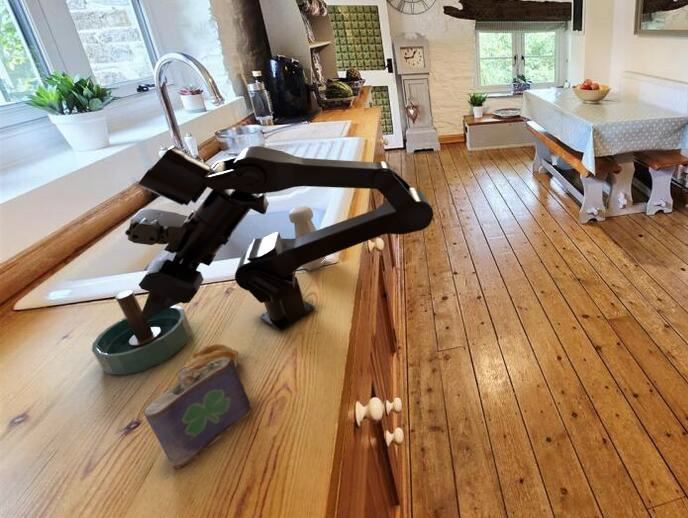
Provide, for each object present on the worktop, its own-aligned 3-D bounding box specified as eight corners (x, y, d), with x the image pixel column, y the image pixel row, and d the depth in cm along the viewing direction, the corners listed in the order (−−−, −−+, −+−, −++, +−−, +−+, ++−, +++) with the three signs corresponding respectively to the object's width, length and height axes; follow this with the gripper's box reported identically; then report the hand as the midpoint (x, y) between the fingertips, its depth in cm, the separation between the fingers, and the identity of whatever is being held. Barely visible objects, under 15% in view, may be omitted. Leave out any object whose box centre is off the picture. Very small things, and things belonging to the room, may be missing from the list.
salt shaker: (334, 257, 88) (321, 202, 83) (320, 272, 83) (305, 215, 78) (308, 256, 89) (293, 202, 84) (293, 271, 84) (276, 215, 78)
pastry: (233, 401, 56) (224, 381, 54) (173, 422, 53) (162, 402, 51) (241, 354, 63) (233, 335, 62) (189, 370, 61) (180, 351, 59)
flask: (178, 473, 47) (142, 407, 43) (165, 461, 48) (129, 396, 44) (256, 409, 54) (232, 347, 50) (243, 400, 56) (218, 339, 51)
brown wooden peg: (171, 339, 66) (147, 288, 62) (144, 357, 63) (117, 305, 59) (154, 334, 67) (129, 284, 63) (127, 351, 64) (99, 300, 60)
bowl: (205, 338, 67) (197, 319, 65) (119, 389, 58) (107, 368, 57) (175, 315, 72) (167, 297, 71) (92, 358, 64) (80, 338, 62)
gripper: (179, 170, 66) (123, 244, 67) (128, 219, 50) (56, 316, 51) (248, 205, 72) (196, 272, 72) (223, 259, 56) (156, 345, 56)
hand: (157, 297), depth 63 cm, fingers open, 9 cm apart
